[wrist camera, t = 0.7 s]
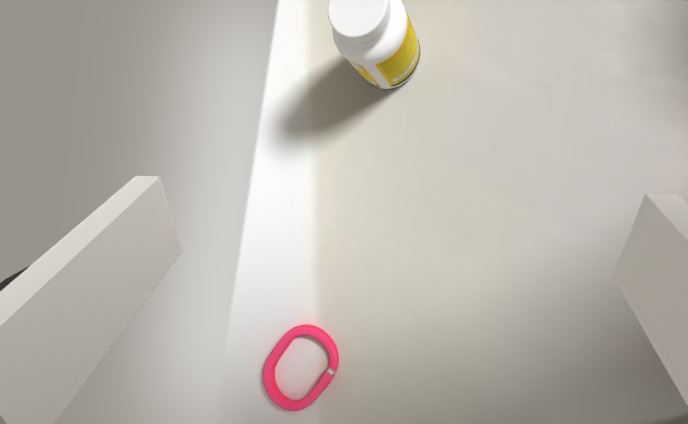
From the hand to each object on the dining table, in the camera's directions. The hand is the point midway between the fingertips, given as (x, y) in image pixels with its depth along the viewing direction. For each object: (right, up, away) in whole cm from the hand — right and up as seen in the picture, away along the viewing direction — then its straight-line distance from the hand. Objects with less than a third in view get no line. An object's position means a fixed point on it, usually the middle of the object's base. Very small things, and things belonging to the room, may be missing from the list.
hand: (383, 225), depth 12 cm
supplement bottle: (+3, +13, +25) cm, 28 cm away
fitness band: (-5, -14, +28) cm, 31 cm away
